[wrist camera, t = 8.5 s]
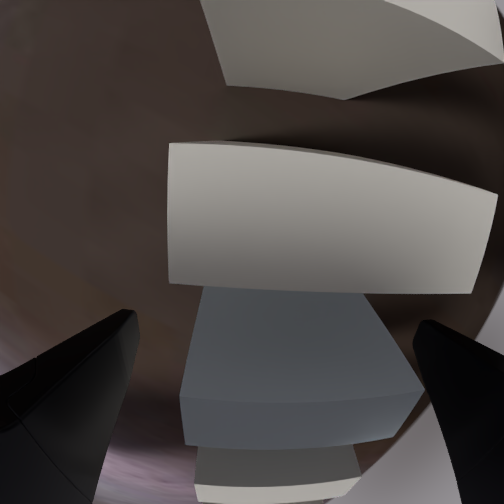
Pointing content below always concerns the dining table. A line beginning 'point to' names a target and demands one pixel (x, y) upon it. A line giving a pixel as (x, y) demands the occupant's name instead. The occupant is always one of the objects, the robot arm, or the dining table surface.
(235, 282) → the domino
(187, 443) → the domino
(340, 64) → the domino
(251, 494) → the domino
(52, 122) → the dining table surface
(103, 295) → the dining table surface
